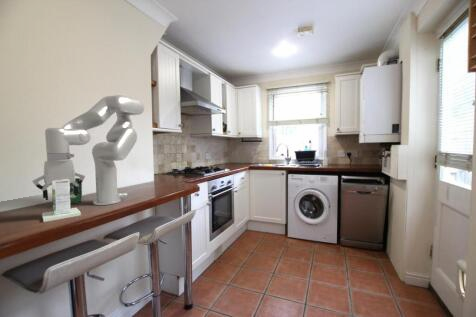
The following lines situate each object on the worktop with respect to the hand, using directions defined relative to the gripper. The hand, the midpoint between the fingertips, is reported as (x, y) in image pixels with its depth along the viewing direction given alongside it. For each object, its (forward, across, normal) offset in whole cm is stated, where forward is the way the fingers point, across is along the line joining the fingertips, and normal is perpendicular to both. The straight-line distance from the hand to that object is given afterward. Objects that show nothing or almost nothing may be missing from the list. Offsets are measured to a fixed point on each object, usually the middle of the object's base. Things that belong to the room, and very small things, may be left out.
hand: (61, 197), depth 94 cm
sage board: (+8, 0, 0) cm, 8 cm away
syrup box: (+7, 0, 0) cm, 7 cm away
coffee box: (+8, -6, -23) cm, 25 cm away
